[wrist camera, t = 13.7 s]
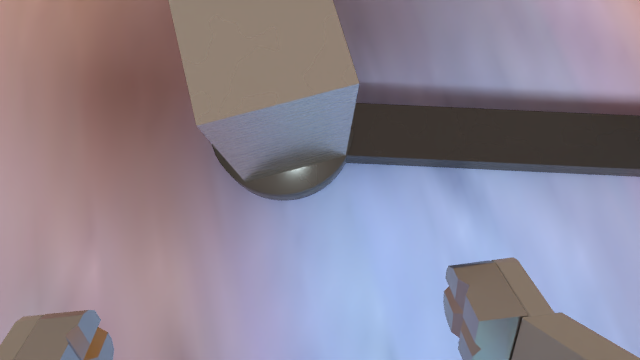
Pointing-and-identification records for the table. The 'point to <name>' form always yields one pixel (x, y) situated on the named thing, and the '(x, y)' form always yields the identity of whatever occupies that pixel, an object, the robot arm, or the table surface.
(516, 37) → the table surface
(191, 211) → the table surface
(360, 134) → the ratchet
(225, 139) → the tan wooden block
